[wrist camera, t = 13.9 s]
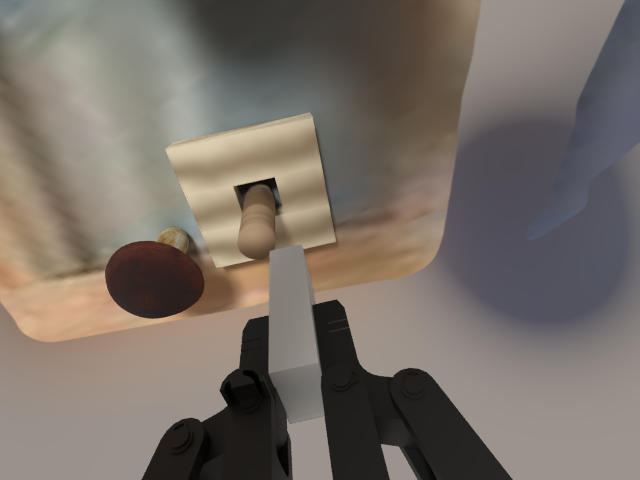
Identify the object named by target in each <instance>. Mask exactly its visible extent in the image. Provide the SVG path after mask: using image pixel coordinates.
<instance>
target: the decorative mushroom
mask: <svg viewBox="0 0 640 480" xmlns="http://www.w3.org/2000/svg"><path fill="white" fill-rule="evenodd" d="M188 247H189V239H188V236H187V234H186V233H185V232H184V231H183V230H181V229H179V228H176V227H169V228H167V229H165V230H164V231H162V232H161V233H160V235H159V236H158V237H157V239H156V241H139V242H133V243H130V244H128V245H125V246H123V247H121V248H120V249H118V250H117V251H116V252H115V253H114V254H113V255H112V257H111V258H110V260H109V262H108V264H107V267H106V270H105V278H106V284H107V288H108V291H109V293H110V295H111V297H112V298H113V299H114V301H115V302H116V303H117V304H118V305H119V306H120V307H121V308H123V309H124V310H126V311H127V312H129V313H131V314H133V315H136V316H139V317H144V318H151V319H154V318H164V317H168V316H171V315H175V314H178V313H180V312H182V311H184V310H186V309H188V308H189V307H191V306H192V305H193V304H195V303H196V302H197V301H198V300H199V298H200V297H201V295H202V293H203V290H204V277H203V274H202V271H201V269H200V268H199V266H198V265H197V264H196V263H195V262H194V261H193V260H192V259H191V258H190V257H189V256H188V255H186V252H187V250H188Z"/></svg>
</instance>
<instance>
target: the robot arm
mask: <svg viewBox="0 0 640 480" xmlns="http://www.w3.org/2000/svg"><path fill="white" fill-rule="evenodd" d="M220 392H221V394H222V396H223V398H224V399H225V401H226V403H227V405H228V406H227V407H226V408H225V409H224V410H222V411H220V412H219V413H217V414H216V415H214V416H212V417H210V418H208V419H207V420H205V421H203V422H200V421H199V420H198V419H194V418H188V419H182V420H180V421H179V422H177V423H175V424H174V425H173V426H172V427H170V428H169V429H168V430H167V431H166V433H165V434H164V436H163V437H162V439H161V441H160V443H159V445H158V447H157V449H156V451H155V453H154V455H153V457H152V459H151V461H150V463H149V466H148V468H147V470H146V472H145V474H144V476H143V478H142V480H293V478H292V457H291V441H290V437H289V434H288V431H287V419H288V421H289V423H290V424H292V423H296V422H300V421H305V420H309V419H314V418H318V417H323V416H325V423H326V430H327V438H328V445H329V453H330V460H331V468H332V474H333V480H390V479H389V475H388V471H387V467H386V463H385V459H384V455H383V452H382V448H381V444H386V445H393V446H399V447H400V449H401V451H402V452H403V454H404V456H405V458H406V459H407V461H408V463H409V465H410V466H411V468H412V470H413V472H414V474H415V475H416V477H417V479H418V480H512V478H511V477H510V476H509V474H508V473H507V472H506V471H505V469H504V468H503V467H502V466H501V464H500V463H499V462H498V460H497V459H496V458H495V457H494V455H493V454H492V453H491V452H490V450H489V449H488V448H487V446H486V445H485V444H484V443H483V441H482V440H481V439H480V437H479V436H478V435H477V434H476V433H475V431H474V430H473V429H472V427H471V426H470V425H469V423H468V422H467V421H466V420H465V418H464V417H463V416H462V415H461V413H460V412H459V411H458V409H457V408H456V407H455V406H454V404H453V403H452V402H451V401H450V399H449V398H448V397H447V395H446V394H445V393H444V392H443V390H442V389H441V388H440V387H439V385H438V384H437V383H436V381H435V380H434V379H433V378H432V377H431V376H430V375H429V374H428V373H427V372H424V371H422V370H420V369H414V368H408V369H403V370H401V371H399V372H398V373H396V374H395V375H394V377H384V376H377V375H373V374H371V373H369V372H367V371H366V370H365V369H363V368H362V366H361V365H360V363H359V361H358V359H357V354H356V351H355V347H354V343H353V339H352V336H351V332H350V328H349V324H348V320H347V316H346V312H345V308H344V307H343V306H342V305H341V304H340V302H339V301H338V300H332V301H328V302H323V303H319V304H316V303H315V297H314V291H313V286H312V282H311V278H310V274H309V270H308V266H307V262H306V258H305V254H304V250H303V246H302V244H300V245H295V246H291V247H286V248H282V249H277V250H272V251H270V273H269V315H268V316H264V317H259V318H255V319H250V320H249V321H248V322H247V324H246V326H245V328H244V330H243V336H242V345H241V355H240V366H239V369H236V370H235V371H233V372H232V373H231V374H229V375H228V376H227V377H226V379H225V380H224V381H223V382H222V385H221V388H220Z"/></svg>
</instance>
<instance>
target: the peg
mask: <svg viewBox="0 0 640 480" xmlns="http://www.w3.org/2000/svg"><path fill="white" fill-rule="evenodd" d="M237 245H238V249H239V251H240V252H241V253H242V254H243V255H244V256H245V257H247V258H250V259H255V260H259V259H264V258H266V257H268V256H270V251H272V250H274V249H275V245H276V238H275V197H274V194H273V190H272V187H271V186H270V184H269V183H267V182H266V181H263V180H260V181H255V182H253V183H251V184H250V186H249V188H248V191H247V192H246V194H245V197H244V205H243V211H242V217H241V223H240V229H239V235H238V241H237Z"/></svg>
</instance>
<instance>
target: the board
mask: <svg viewBox="0 0 640 480" xmlns="http://www.w3.org/2000/svg"><path fill="white" fill-rule="evenodd" d="M166 152H167V155H168V157H169V159H170V161H171V164H172V166H173V168H174V171H175V173H176V175H177V178H178V180H179V182H180V185H181V187H182V189H183V191H184V194H185V196H186V198H187V201H188V203H189V205H190V208H191V210H192V212H193V215H194V217H195V219H196V222H197V224H198V226H199V228H200V231H201V233H202V235H203V238H204V240H205V242H206V245H207V247H208V249H209V252H210V254H211V256H212V258H213V261H214V263H215V265H216V268H219V267H224V266H228V265H233V264H238V263H242V262H247V261H251V260H255V259H250V258H247V257H245V256H244V255H243V254H242V253H241V252H240V251H239V249H238V245H237V241H238V235H239V229H240V223H241V217H242V211H243V205H244V202H243V199H242V197H241V194H240V191H239V188H238V185H241V184H246V183H251V182H255V181H260V180H264V179H269V178H273V177H275V180H276V184H277V187H278V191H279V195H280V199H281V202H282V205H281V206H276V207H275V238H276V245H275V249H274V250H277V249H282V248H286V247H291V246H295V245H300V244H302V246H303V249H306V248H310V247H315V246H319V245H324V244H328V243H333V242H336V239H335V234H334V228H333V223H332V218H331V212H330V207H329V202H328V196H327V191H326V186H325V180H324V175H323V170H322V164H321V159H320V154H319V148H318V143H317V138H316V132H315V127H314V122H313V117H312V115H311V113H306V114H302V115H297V116H293V117H288V118H283V119H279V120H274V121H270V122H265V123H260V124H256V125H251V126H247V127H242V128H237V129H233V130H228V131H224V132H219V133H215V134H210V135H205V136H201V137H196V138H192V139H187V140H182V141H178V142H173V143H171V144H170V145H169V146H168V148H167V149H166ZM268 257H269V256H268Z"/></svg>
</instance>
